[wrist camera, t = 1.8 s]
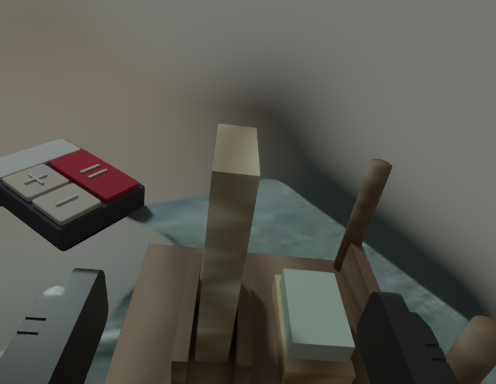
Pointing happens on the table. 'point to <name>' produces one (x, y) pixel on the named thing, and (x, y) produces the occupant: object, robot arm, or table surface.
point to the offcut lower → (300, 370)
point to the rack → (259, 312)
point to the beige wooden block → (226, 238)
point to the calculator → (66, 192)
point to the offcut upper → (314, 317)
